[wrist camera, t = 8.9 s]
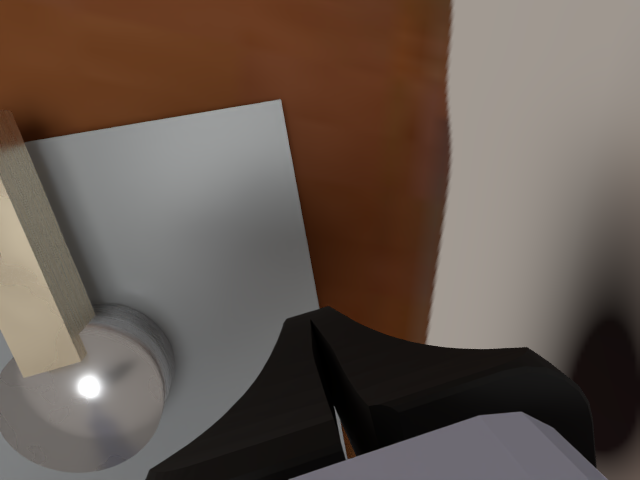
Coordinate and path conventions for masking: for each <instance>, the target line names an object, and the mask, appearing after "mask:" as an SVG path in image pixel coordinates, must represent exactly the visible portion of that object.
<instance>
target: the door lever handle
mask: <svg viewBox="0 0 640 480" xmlns="http://www.w3.org/2000/svg"><path fill="white" fill-rule="evenodd" d="M0 330H1V332H2V334H3V336H4V338H5V340H6V342H7V344H8V346H9V349H10V351H11V353H12V355H13V358H12V359H11V360H10V361H9V362H8V363H7V365H6V366H5V367H4V368H3V370H2V372H1V373H0V432H1V434H2V436H3V437H4V439H5V440H6V441H7V442H8V443H9V445H10V446H11V447H12V448H13V449H15V450H16V451H17V452H18V453H19V454H21V455H22V456H23V457H25V458H26V459H28V460H30V461H32V462H34V463H36V464H38V465H40V466H43V467H45V468H49V469H53V470H56V471H62V472H71V473H86V472H94V471H100V470H104V469H108V468H111V467H113V466H116V465H119V464H121V463H122V462H124V461H126V460H128V459H130V458H131V457H133V456H134V455H136V454H137V453H138V452H139V451H140V450H141V449H143V448H144V446H145V445H146V444H147V443H148V442H149V441H150V439H151V438H152V436H153V435H154V433H155V431H156V429H157V427H158V425H159V422H160V419H161V415H162V412H163V409H164V406H165V403H166V399H167V396H168V393H169V390H170V386H171V383H172V380H173V377H174V371H175V359H174V353H173V349H172V346H171V344H170V342H169V340H168V338H167V336H166V335H165V333H164V332H163V331H162V329H161V328H160V327H159V326H158V325H157V324H156V323H155V322H154V321H153V320H151V319H150V318H148V317H147V316H146V315H144V314H142V313H140V312H138V311H136V310H134V309H131V308H129V307H125V306H121V305H116V304H108V303H97V304H91V302H90V300H89V297H88V295H87V292H86V290H85V287H84V285H83V283H82V280H81V278H80V275H79V273H78V271H77V268H76V266H75V263H74V261H73V259H72V256H71V254H70V251H69V249H68V246H67V244H66V242H65V239H64V237H63V234H62V232H61V230H60V227H59V225H58V222H57V220H56V218H55V215H54V213H53V210H52V208H51V206H50V203H49V201H48V198H47V196H46V193H45V191H44V189H43V186H42V184H41V181H40V179H39V177H38V174H37V172H36V169H35V167H34V165H33V162H32V160H31V157H30V155H29V152H28V150H27V148H26V145H25V143H24V140H23V138H22V136H21V133H20V131H19V128H18V126H17V124H16V121H15V119H14V116H13V114H12V111H9V110H0Z"/></svg>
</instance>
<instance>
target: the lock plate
mask: <svg viewBox="0 0 640 480" xmlns="http://www.w3.org/2000/svg"><path fill="white" fill-rule="evenodd" d="M24 143H25V145H26V148H27V150H28V152H29V155H30V157H31V160H32V162H33V165H34V167H35V169H36V172H37V174H38V177H39V179H40V181H41V184H42V186H43V189H44V191H45V193H46V196H47V198H48V201H49V203H50V206H51V208H52V210H53V213H54V215H55V218H56V220H57V222H58V225H59V227H60V230H61V232H62V234H63V237H64V239H65V242H66V244H67V246H68V249H69V251H70V254H71V256H72V259H73V261H74V263H75V266H76V268H77V271H78V273H79V275H80V278H81V280H82V283H83V285H84V287H85V290H86V292H87V295H88V297H89V300H90V302H91V304H97V303H108V304H116V305H121V306H125V307H129V308H131V309H134V310H136V311H138V312H140V313H142V314H144V315H146V316H147V317H148V318H150V319H151V320H153V321H154V322H155V323H156V324H157V325H158V326H159V327H160V328H161V329H162V331H163V332H164V333H165V335H166V336H167V338H168V340H169V342H170V344H171V346H172V349H173V353H174V359H175V371H174V377H173V380H172V383H171V386H170V390H169V393H168V396H167V399H166V403H165V406H164V409H163V412H162V415H161V419H160V422H159V425H158V427H157V429H156V431H155V433H154V435H153V436H152V438H151V439H150V441H149V442H148V443H147V444H146V445H145V446H144V448H143V449H141V450H140V451H139V452H138V453H137V454H136V455H134V456H133V457H131V458H130V459H128V460H126V461H124V462H122V463H121V464H119V465H116V466H113V467H111V468H108V469H104V470H100V471H94V472H86V473H71V472H62V471H56V470H53V469H49V468H45V467H43V466H40V465H38V464H36V463H34V462H32V461H30V460H28V459H26V458H25V457H23V456H22V455H21V454H19V453H18V452H17V451H16V450H15V449H13V448H12V447H11V446H10V445H9V443H8V442H7V441H6V440H5V439H4V437H3V436H2V434H1V432H0V480H145V479H146V477H147V474H148V472H149V469H151V468H153V467H154V466H156V465H158V464H159V463H161V462H162V461H164V460H165V459H167V458H168V457H170V456H171V455H173V454H174V453H176V452H177V451H179V450H180V449H182V448H183V447H185V446H186V445H188V444H189V443H190V442H192V441H193V440H195V439H196V438H197V437H198V436H200V435H201V434H202V433H203V432H205V431H206V430H207V429H208V428H210V427H211V426H212V425H213V424H214V423H215V422H217V421H218V420H219V419H220V418H221V417H222V416H223V415H224V414H225V413H226V412H227V411H228V410H229V409H230V408H231V407H232V406H233V405H234V404H235V403H236V402H237V401H238V400H239V399H240V398H241V397H242V396H243V395H244V393H245V392H246V391H247V390H248V389H249V387H250V386H251V385H252V384H253V382H254V381H255V380H256V378H257V377H258V375H259V374H260V372H261V371H262V369H263V367H264V365H265V364H266V362H267V360H268V358H269V357H270V355H271V353H272V350H273V348H274V346H275V344H276V342H277V340H278V337H279V335H280V332H281V329H282V326H283V323H284V321H285V320H286V319H287V318H290V317H293V316H297V315H300V314H304V313H307V312H310V311H314V310H317V309H319V304H318V298H317V293H316V287H315V282H314V277H313V271H312V266H311V260H310V255H309V250H308V244H307V239H306V233H305V228H304V223H303V217H302V212H301V206H300V201H299V195H298V190H297V185H296V179H295V174H294V168H293V163H292V158H291V152H290V147H289V141H288V136H287V131H286V125H285V120H284V114H283V109H282V104H281V99H280V100H274V101H268V102H262V103H256V104H250V105H244V106H238V107H232V108H226V109H220V110H214V111H208V112H203V113H197V114H191V115H185V116H179V117H173V118H167V119H161V120H155V121H149V122H143V123H137V124H131V125H125V126H119V127H113V128H107V129H101V130H95V131H89V132H83V133H77V134H71V135H65V136H59V137H53V138H47V139H41V140H35V141H29V142H24ZM12 358H13V355H12V353H11V351H10V349H9V346H8V344H7V342H6V340H5V338H4V336H3V334H2V332H1V330H0V373H1V372H2V370H3V368H4V367H5V366H6V365H7V363H8V362H9V361H10V360H11V359H12ZM334 408H335V407H334ZM335 414H336V419H337V424H338V429H339V435H340V440H341V444H342V448H343V451H344V455H345V458H346V460H347V455H346V449H345V444H344V439H343V433H342V428H341V422H340V418H339V416H338V414H337V411H336V409H335Z"/></svg>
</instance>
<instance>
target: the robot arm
mask: <svg viewBox="0 0 640 480" xmlns="http://www.w3.org/2000/svg"><path fill="white" fill-rule="evenodd" d="M334 407H335V408H334ZM335 409H336V411H337V414H338V416H339V418H340V420H341V423H342V425H343V427H344V430H345V432H346V434H347V436H348V438H349V441H350V443H351V445H352V447H353V450H354V452H355V454H356V456H357V457H354V458H351V459H348V460H346V458H345V455H344V451H343V448H342V444H341V440H340V435H339V429H338V424H337V419H336V414H335ZM593 431H594V430H593V418H592V414H591V410H590V406H589V402H588V400H587V398H586V396H585V395H584V393H583V392H582V390H581V388H580V387H579V385H577V384H576V383H575V382H573V381H572V380H571V379H570V378H568V377H567V376H566V375H565V374H564V373H562V372H561V371H560V370H558V369H557V368H556V367H554V366H553V365H552V364H551V363H549V362H548V361H547V360H545V359H544V358H542V357H541V356H539V355H538V354H537V353H535V352H534V351H532V350H530V349H529V348H527V347H522V348H502V349H458V348H445V347H438V346H431V345H425V344H419V343H414V342H410V341H406V340H402V339H399V338H395V337H391V336H388V335H385V334H383V333H380V332H378V331H375V330H373V329H370V328H368V327H366V326H364V325H361V324H359V323H357V322H355V321H353V320H352V319H350V318H348V317H346V316H345V315H343V314H341V313H340V312H338V311H336V310H335V309H333V308H331V307H329V306H327V307H324V308H320V309H317V310H314V311H310V312H307V313H304V314H300V315H297V316H293V317H290V318H287V319H286V320H285V321H284V323H283V326H282V329H281V332H280V335H279V337H278V340H277V342H276V344H275V346H274V348H273V350H272V353H271V355H270V357H269V358H268V360H267V362H266V364H265V365H264V367H263V369H262V371H261V372H260V374H259V375H258V377H257V378H256V380H255V381H254V382H253V384H252V385H251V386H250V387H249V389H248V390H247V391H246V392H245V393H244V395H243V396H242V397H241V398H240V399H239V400H238V401H237V402H236V403H235V404H234V405H233V406H232V407H231V408H230V409H229V410H228V411H227V412H226V413H225V414H224V415H223V416H222V417H221V418H220V419H219V420H218V421H217V422H215V423H214V424H213V425H212V426H211V427H210V428H208V429H207V430H206V431H205V432H203V433H202V434H201V435H200V436H198V437H197V438H196V439H195V440H193V441H192V442H190V443H189V444H188V445H186V446H185V447H183V448H182V449H180V450H179V451H177V452H176V453H174V454H173V455H171V456H170V457H168V458H167V459H165V460H164V461H162V462H161V463H159V464H158V465H156V466H154V467H153V468H151V469H149V472H148V474H147V477H146V479H145V480H608V479H607V478H606V477H604V476H603V475H602V474H601V473H600V472H599V471H598V470H597V469H596V456H595V443H594V432H593Z"/></svg>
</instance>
